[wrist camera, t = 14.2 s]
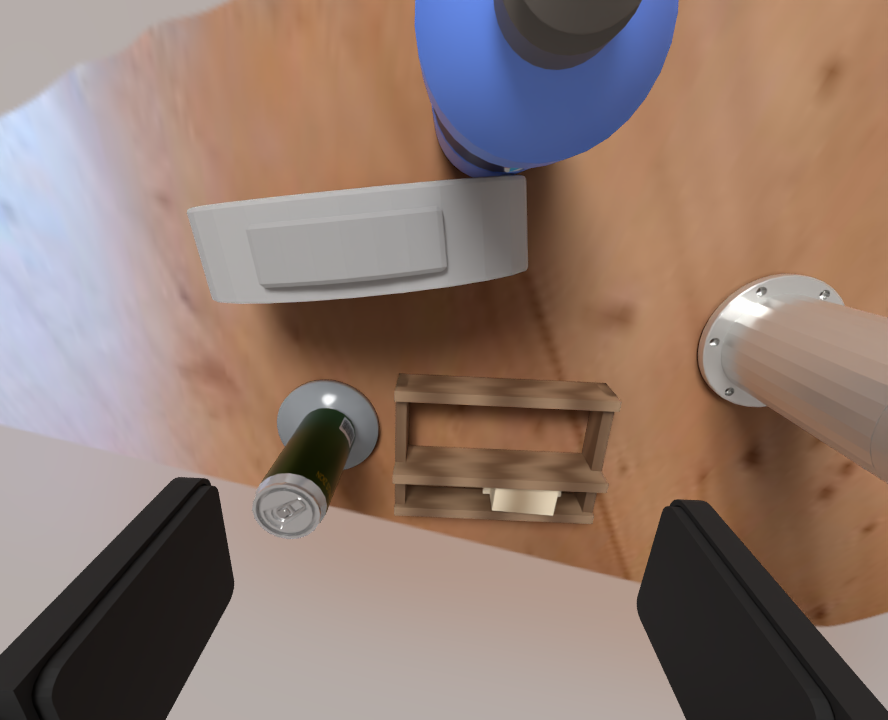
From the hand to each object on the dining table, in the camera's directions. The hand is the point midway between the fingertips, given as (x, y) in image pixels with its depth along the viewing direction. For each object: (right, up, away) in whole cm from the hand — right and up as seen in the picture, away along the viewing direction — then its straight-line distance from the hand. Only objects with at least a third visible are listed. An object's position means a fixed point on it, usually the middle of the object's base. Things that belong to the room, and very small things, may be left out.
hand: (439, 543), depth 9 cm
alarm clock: (-6, +15, +27) cm, 31 cm away
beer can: (-11, -3, +33) cm, 35 cm away
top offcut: (+8, -9, +34) cm, 36 cm away
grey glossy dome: (-12, -3, +34) cm, 36 cm away
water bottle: (+4, +23, +24) cm, 33 cm away
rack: (+5, -5, +34) cm, 35 cm away
